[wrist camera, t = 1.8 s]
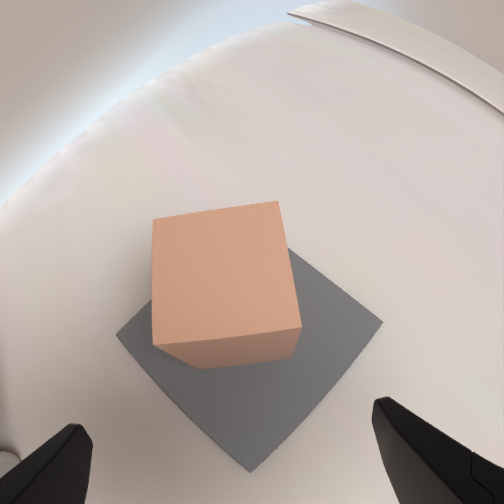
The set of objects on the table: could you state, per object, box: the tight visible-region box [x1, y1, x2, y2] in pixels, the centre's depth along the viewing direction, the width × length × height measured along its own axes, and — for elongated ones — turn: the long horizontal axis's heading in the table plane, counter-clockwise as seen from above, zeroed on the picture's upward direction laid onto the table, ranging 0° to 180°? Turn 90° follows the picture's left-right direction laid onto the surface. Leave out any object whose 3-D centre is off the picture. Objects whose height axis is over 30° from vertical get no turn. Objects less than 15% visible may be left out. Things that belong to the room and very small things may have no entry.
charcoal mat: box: [116, 247, 383, 473], centre depth 22 cm, size 14×14×1 cm
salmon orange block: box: [152, 201, 302, 370], centre depth 19 cm, size 6×6×9 cm
